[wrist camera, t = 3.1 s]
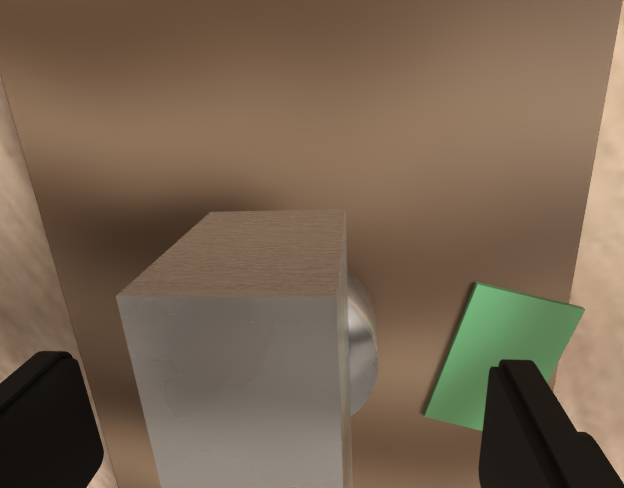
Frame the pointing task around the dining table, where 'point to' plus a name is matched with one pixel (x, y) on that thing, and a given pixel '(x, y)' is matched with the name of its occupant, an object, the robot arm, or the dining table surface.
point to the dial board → (325, 180)
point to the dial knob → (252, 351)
